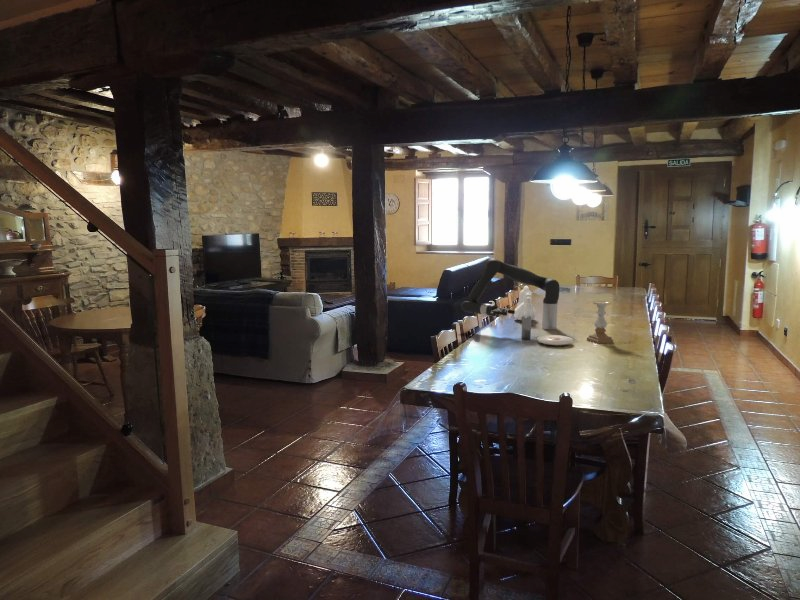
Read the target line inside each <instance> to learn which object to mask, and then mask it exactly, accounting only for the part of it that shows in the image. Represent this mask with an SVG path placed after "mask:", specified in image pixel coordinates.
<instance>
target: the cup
mask: <svg viewBox="0 0 800 600" xmlns="http://www.w3.org/2000/svg"><path fill="white" fill-rule="evenodd" d="M531 335H532V320H531V316H522V320H521V336H520V338H521V340H523V341H531Z"/></svg>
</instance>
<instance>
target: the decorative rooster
mask: <svg viewBox="0 0 800 600" xmlns="http://www.w3.org/2000/svg"><path fill="white" fill-rule="evenodd" d="M518 296H519V297H518V300H517V304H516V307H515V309H513V310H514V311H515V314H513V316H514V318H515V319H516V320H518V321H522V316H531V321H533V320H534V319H536V315H537V311H536V309H535V307H534V305H533V304H532V302H533V297H532V296H533V295H532V291H531V290H530V287H529V285H524V286H523V288H522V289H521V290H520V291H519V294H518Z"/></svg>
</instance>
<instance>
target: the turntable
mask: <svg viewBox="0 0 800 600" xmlns="http://www.w3.org/2000/svg"><path fill="white" fill-rule="evenodd" d="M537 342H539V343H540V344H542V343H544V344H551V345H566V344H567V345H570V344H572V343H573V338H572V337H569V336H565V335H559V334H558V335H557V334H545V335H539V336H537ZM544 344H543V345H544ZM567 345H566V346H567Z"/></svg>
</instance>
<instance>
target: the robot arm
mask: <svg viewBox="0 0 800 600" xmlns="http://www.w3.org/2000/svg"><path fill="white" fill-rule="evenodd" d="M484 269H485V270H484V272H483V275H482V276H481V278H480V279H479V280H478V281H477V282H476V284H475V285H474V286H473V288H472V290H471V291H470V293H469V295H468V296H469V298H470V299H469V301H468V300H464V301H463V302H461V304H460V308H461V310H462V312H466V313H469V314H472V313H475V314H479V315H483V316H488V317H496V316H507V315H508V314H512V315H514V314H515V311H514V310H515V309H511V308H505V307H498V305H496V304H492V303H481V302H480V301H479V300H480V298H481V296H482V295H483V293H484V291H485V290H486V288H487V287H488V285H489V283H490V282H491V281H492V279H493V278H494V277H495V276H496V275H497V274H501V275H503V276H506V277H507V278H509V279H510V280H513V281H515V282H517V283H520V284H523V285H526V286H533V287H537V288H539V289H541V290H542V291H544V292H545V296H544V298H543V300H542V302H543V303H542V329H543V330H548V331H549V330H551V331H552V330H557V327H558V302H559V298H560V283H559V282H558V280H556V279H554V278H549V277H544V276H540V275H537V274H536V273H534V272H532V271H530V270H529V269H525V268H522V267H519V266H516V265H512V264H509V263H505V262H503V261H501V260H498V259H497V258H495V257H488V258H486V259H485V261H484Z"/></svg>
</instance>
